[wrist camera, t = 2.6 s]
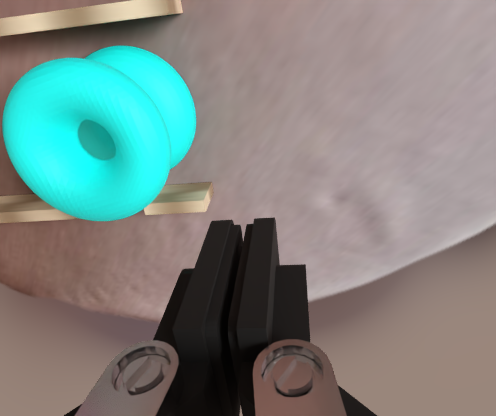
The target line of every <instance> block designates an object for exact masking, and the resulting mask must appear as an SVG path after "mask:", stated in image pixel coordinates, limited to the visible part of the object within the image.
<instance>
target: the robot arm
mask: <svg viewBox="0 0 496 416" xmlns="http://www.w3.org/2000/svg"><path fill="white" fill-rule="evenodd" d="M240 405H241V409H242V414H243V416H377V415H375V414H374V413H373V412H371V411H370V410H369V409H368V408H367V407H365V406H364V405H363V404H361V403H360V402H359V401H358V400H356V399H355V398H354V397H352V396H351V395H350V394H349V393H347V392H346V391H345V390H343V389H342V388H341V387H340V386H338V385H337V382H336V378H335V375H334V371H333V368H332V365H331V363H330V361H329V359H328V357H327V355H326V354H325V353H324V352H323V351H322V350H321V349H320V348H319V347H317V346H315V345H314V344H312V343H310V331H309V314H308V298H307V281H306V265H280V264H279V253H278V242H277V232H276V222H275V218H258V219H254V224H247V226H246V231H245V236H244V241H243V238H242V231H241V226H240V225H234V223H233V221H232V220H220V221H212V222H211V224H210V226H209V229H208V232H207V235H206V238H205V240H204V243H203V246H202V249H201V251H200V254H199V257H198V260H197V262H196V265H195V268H194V269H183V270H182V272H181V273H180V275H179V278H178V280H177V283H176V285H175V288H174V290H173V293H172V295H171V298H170V300H169V303H168V305H167V307H166V310H165V312H164V315H163V317H162V320H161V322H160V325H159V327H158V330H157V332H156V334H155V337H154V339H153V341H144V342H140V343H136V344H134V345H132V346H130V347H128V348H126V349H125V350H123V351H122V352H121V353H120V354H118V355H117V356H116V357H115V358H114V359H113V360H112V361H111V362H110V364H109V365H108V366H107V368H106V369H105V371H104V373H103V374H102V375H101V377H100V378H99V380H98V381H97V383H96V384H95V386H94V387H93V389H92V390H91V392H90V393H89V395H88V396H87V398H86V400H85V401H84V402H83V404H81V405H80V406H78V407H76V408H75V409H73V410H72V411H70V412H69V413H67V414H66V415H64V416H239V413H240Z"/></svg>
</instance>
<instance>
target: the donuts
mask: <svg viewBox="0 0 496 416" xmlns="http://www.w3.org/2000/svg"><path fill="white" fill-rule="evenodd" d="M2 128H3V137H4V142H5V146H6V150H7V152H8V155H9V158H10V160H11V162H12V164H13V166H14V168H15V169H16V171H17V173H18V174H19V176H20V177H21V178H22V180H23V181H24V182H25V183H26V185H27V186H28V187H29V188H30V189H31V190H32V191H33V192H34V193H35V194H36V195H37V196H39V197H40V198H41V199H42V200H43V201H45V202H46V203H48V204H49V205H51V206H52V207H54V208H56V209H57V210H59V211H61V212H63V213H66V214H68V215H71V216H74V217H77V218H80V219H85V220H91V221H113V220H119V219H123V218H126V217H129V216H132V215H134V214H136V213H138V212H139V211H141V210H143V209H144V208H146V207H147V206H148V205H149V204H150V203H151V202H152V201H153V200H154V199H155V198H156V197H157V196H158V194H159V193H160V191H161V190H162V188H163V186H164V185H165V182H166V180H167V177H168V174H169V170H170V169H172V168H173V167H175V166H176V165H177V164H178V163H179V162H180V161H181V160H182V159H183V158H184V157H185V155H186V154H187V152H188V150H189V149H190V147H191V145H192V142H193V139H194V135H195V130H196V112H195V106H194V102H193V99H192V96H191V94H190V91H189V89H188V87H187V85H186V84H185V82H184V81H183V79H182V78H181V76H180V75H179V74H178V73H177V72H176V70H175V69H174V68H173V67H172V66H171V65H169V64H168V63H167V62H166V61H164V60H163V59H162V58H160V57H158V56H157V55H155V54H153V53H151V52H149V51H146V50H144V49H141V48H137V47H132V46H111V47H106V48H103V49H100V50H97V51H95V52H93V53H91V54H90V55H88V56H87V57H86V58H85V59H82V58H61V59H55V60H51V61H48V62H45V63H42V64H40V65H38V66H36V67H34V68H32V69H31V70H29V71H28V72H27V73H26V74H25V75H23V76H22V77H21V78H20V79H19V80H18V82H17V83H16V84H15V85H14V87H13V88H12V90H11V92H10V94H9V96H8V98H7V101H6V104H5V108H4V112H3V121H2Z"/></svg>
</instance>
